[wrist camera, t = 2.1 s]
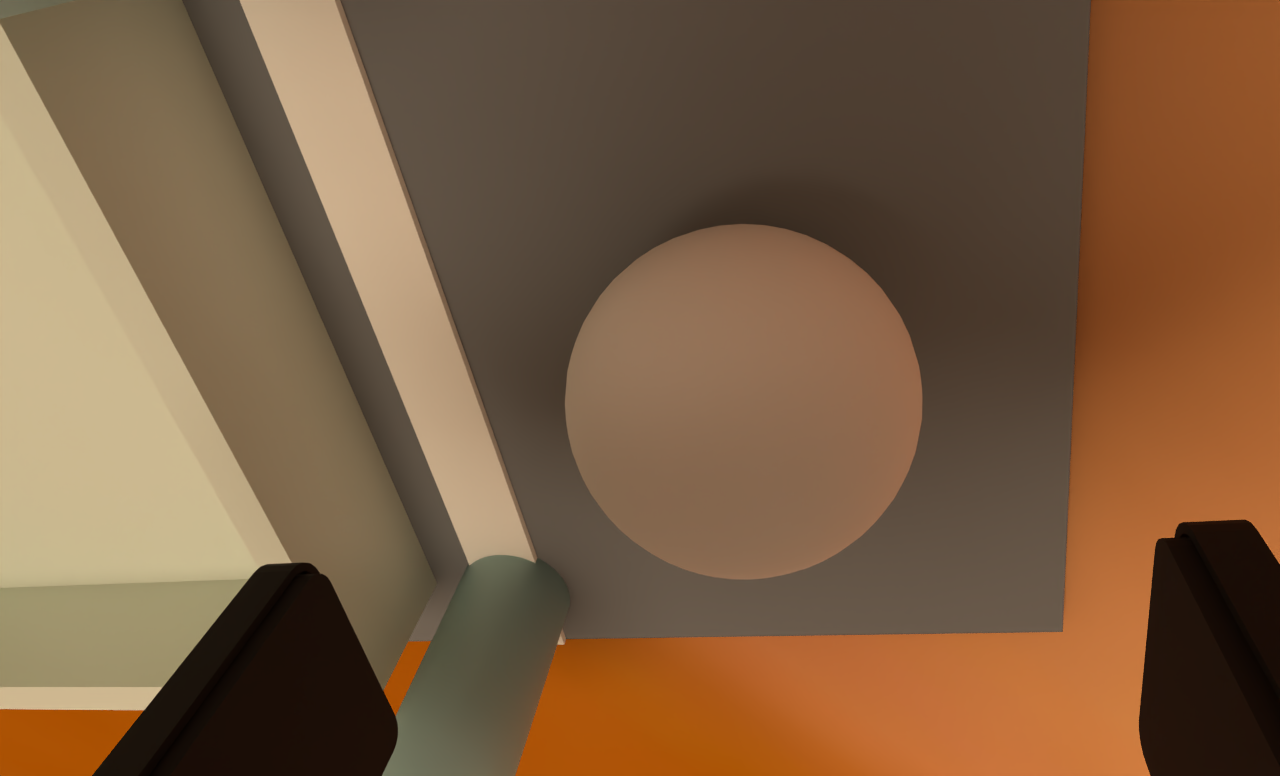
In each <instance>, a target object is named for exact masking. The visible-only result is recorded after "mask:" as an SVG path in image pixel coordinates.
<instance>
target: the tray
mask: <svg viewBox="0 0 1280 776" xmlns="http://www.w3.org/2000/svg"><path fill="white" fill-rule="evenodd" d="M301 562H305V563H311V564H312V565H314V566H315V567H316V568H317V569H318V571H319V572H320V574H324V575H325V576H327V577H328V578H329V580H330V581H331V583H332V585H333V587H334V590H335V592H336V594H337V596H338V598H339V600H340V602H341V604H342V606H343V608H344V610H345V612H346V614H347V617H348V619H349V621H350V623H351V625H352V627H353V629H354V631H355V633H356V635H357V637H358V639H359V642H360V644H361V646H362V648H363V650H364V652H365V654H366V656H367V658H368V660H369V662H370V664H371V667H372V669H373V671H374V673H375V675H376V677H377V679H378V681H379V683H380V685H381V687H382V689H383V690H384V688H385V686H386V684H387V682H388V680H389V678H390V676H391V674H392V672H393V670H394V668H395V666H396V664H397V662H398V660H399V658H400V656H401V654H402V652H403V650H404V648H405V646H406V644H407V642H408V640H409V638H410V636H411V634H412V632H413V630H414V628H415V626H416V624H417V622H418V620H419V618H420V617H421V615H422V613H423V611H424V609H425V607H426V605H427V603H428V601H429V599H430V597H431V595H432V593H433V591H434V589H435V587H436V585H437V582H436V580H435V577H434V575H433V573H432V571H431V568H430V566H429V564H428V561H427V559H426V557H425V555H424V552H423V550H422V548H421V545H420V543H419V541H418V539H417V536H416V534H415V532H414V529H413V527H412V525H411V523H410V520H409V518H408V516H407V513H406V511H405V509H404V507H403V504H402V502H401V500H400V497H399V495H398V493H397V491H396V488H395V486H394V484H393V481H392V479H391V477H390V475H389V472H388V470H387V468H386V465H385V463H384V461H383V459H382V456H381V454H380V452H379V449H378V447H377V445H376V443H375V440H374V438H373V436H372V433H371V431H370V429H369V427H368V424H367V422H366V420H365V417H364V415H363V413H362V411H361V408H360V406H359V404H358V401H357V399H356V397H355V395H354V392H353V390H352V388H351V385H350V383H349V381H348V379H347V376H346V374H345V372H344V369H343V367H342V365H341V363H340V360H339V358H338V356H337V353H336V351H335V349H334V347H333V344H332V342H331V340H330V337H329V335H328V333H327V331H326V328H325V326H324V324H323V321H322V319H321V317H320V315H319V312H318V310H317V308H316V305H315V303H314V301H313V299H312V296H311V294H310V292H309V289H308V287H307V285H306V283H305V280H304V278H303V276H302V273H301V271H300V269H299V267H298V264H297V262H296V260H295V257H294V255H293V253H292V251H291V248H290V246H289V244H288V241H287V239H286V237H285V235H284V232H283V230H282V228H281V225H280V223H279V221H278V219H277V216H276V214H275V212H274V209H273V207H272V205H271V203H270V200H269V198H268V196H267V193H266V191H265V189H264V187H263V184H262V182H261V180H260V177H259V175H258V173H257V171H256V168H255V166H254V164H253V161H252V159H251V157H250V155H249V152H248V150H247V148H246V145H245V143H244V141H243V139H242V136H241V134H240V132H239V129H238V127H237V125H236V123H235V120H234V118H233V116H232V113H231V111H230V109H229V107H228V104H227V102H226V100H225V97H224V95H223V93H222V91H221V88H220V86H219V84H218V81H217V79H216V77H215V75H214V72H213V70H212V68H211V65H210V63H209V61H208V59H207V56H206V54H205V52H204V49H203V47H202V45H201V43H200V40H199V38H198V36H197V33H196V31H195V29H194V27H193V24H192V22H191V20H190V17H189V15H188V13H187V11H186V8H185V6H184V4H183V1H182V0H75V1H71V2H67V3H63V4H59V5H54V6H50V7H46V8H42V9H38V10H34V11H30V12H26V13H22V14H18V15H14V16H10V17H6V18H2V19H0V709H64V710H145V709H146V707H147V706H148V705H149V704H150V702H151V701H152V700H153V699H154V697H155V696H156V695H157V694H158V692H159V691H160V690H161V689H162V687H163V686H164V685H165V684H166V682H167V681H168V680H169V679H170V677H171V676H172V675H173V674H174V672H175V671H176V670H177V668H178V667H179V666H180V665H181V663H182V662H183V661H184V660H185V658H186V657H187V656H188V655H189V653H190V652H191V651H192V650H193V648H194V647H195V646H196V645H197V643H198V642H199V641H200V640H201V638H202V637H203V636H204V635H205V633H206V632H207V631H208V630H209V628H210V627H211V626H212V625H213V623H214V622H215V621H216V620H217V618H218V617H219V616H220V614H221V613H222V612H223V611H224V609H225V608H226V607H227V606H228V604H229V603H230V602H231V601H232V599H233V598H234V597H235V596H236V594H237V593H238V592H239V591H240V589H241V588H242V587H243V586H244V584H245V583H246V582H247V581H248V579H249V578H250V577H251V576H252V574H253V573H254V572H255V571H256V570H257V569H258V568H259V567H261V566H263V565H266V564H279V563H301Z"/></svg>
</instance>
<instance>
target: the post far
mask: <svg viewBox="0 0 1280 776" xmlns="http://www.w3.org/2000/svg"><path fill="white" fill-rule="evenodd" d="M569 606H570V594H569V590H568V587H567V585H566V583H565V581H564V580H563V578H562V577H561V576H560V574H559V573H558V572H557V571H556V570H555V569H554V568H552V567H551V566H550V565H549V564H547V563H546V562H544V561H542V560H541V559H539V558H537V560H536V563H534V562H532V561H529V560H527V559H524V558H520V557H516V556H510V555H493V556H488V557H484V558H481V559H479V560H477V561H475V562H473V563H472V564H471V565H470V566H469V564H468V566H467V567H466V569H465V571H464V574H463V576H462V578H461V580H460V582H459V584H458V586H457V588H456V590H455V593H454V595H453V597H452V599H451V601H450V603H449V605H448V607H447V609H446V611H445V614H444V616H443V618H442V620H441V622H440V624H439V626H438V628H437V630H436V633H435V635H434V637H433V639H432V641H431V643H430V645H429V647H428V649H427V651H426V654H425V656H424V658H423V660H422V662H421V664H420V666H419V668H418V670H417V672H416V675H415V677H414V679H413V681H412V683H411V685H410V687H409V689H408V691H407V694H406V696H405V698H404V700H403V702H402V704H401V706H400V708H399V710H398V712H397V715H396V720H397V723H398V738H397V743H396V746H395V749H394V752H393V754H392V756H391V758H390V760H389V762H388V764H387V766H386V768H385V770H384V772H383V775H382V776H515V774H516V771H517V768H518V765H519V762H520V759H521V756H522V752H523V749H524V746H525V743H526V740H527V737H528V734H529V731H530V728H531V724H532V721H533V718H534V715H535V712H536V709H537V706H538V703H539V699H540V696H541V693H542V690H543V687H544V684H545V681H546V678H547V675H548V671H549V668H550V665H551V662H552V659H553V656H554V653H555V650H556V647H557V643H558V640H559V637H560V634H561V631H562V628H563V625H564V622H565V619H566V615H567V612H568V609H569Z"/></svg>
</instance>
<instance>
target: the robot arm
mask: <svg viewBox="0 0 1280 776" xmlns="http://www.w3.org/2000/svg"><path fill="white" fill-rule="evenodd" d="M1139 733H1140V740H1141V746H1142V750H1143V755H1144V758H1145V761H1146V764H1147V767H1148V770H1149V772H1150V775H1151V776H1280V564H1279V563H1278V561H1277V560H1276V558H1275V557H1274V555H1273V554H1272V552H1271V551H1270V549H1269V547H1268V546H1267V544H1266V543H1265V541H1264V540H1263V538H1262V537H1261V535H1260V534H1259V532H1258V531H1257V529H1256V528H1255V527H1254V526H1253V524H1252V523H1251V522H1249V521H1247V520H1227V521H1205V522H1183V523H1180V524H1179V525H1178V527H1177V529H1176V533H1175V538H1161V539H1158V541H1157V543H1156V547H1155V556H1154V566H1153V577H1152V588H1151V598H1150V609H1149V620H1148V630H1147V641H1146V652H1145V662H1144V673H1143V684H1142V694H1141V705H1140V716H1139ZM397 738H398V723H397V720H396V716H395V714H394V712H393V710H392V708H391V706H390V704H389V702H388V700H387V698H386V696H385V694H384V691H383V689H382V687H381V685H380V683H379V681H378V679H377V677H376V675H375V673H374V671H373V669H372V667H371V664H370V662H369V660H368V658H367V656H366V654H365V652H364V650H363V648H362V646H361V644H360V642H359V639H358V637H357V635H356V633H355V631H354V629H353V627H352V625H351V623H350V621H349V619H348V617H347V614H346V612H345V610H344V608H343V606H342V604H341V602H340V600H339V598H338V596H337V594H336V592H335V590H334V587H333V585H332V583H331V581H330V580H329V578H328V577H327V576H325V575H324V574H320V572H319V571H318V569H317V568H316V567H315V566H314V565H312V564H311V563H305V562H301V563H279V564H266V565H263V566H261V567H259V568H258V569H257V570H256V571H255V572H254V573H253V574H252V576H251V577H250V578H249V579H248V581H247V582H246V583H245V584H244V586H243V587H242V588H241V589H240V591H239V592H238V593H237V594H236V596H235V597H234V598H233V599H232V601H231V602H230V603H229V604H228V606H227V607H226V608H225V609H224V611H223V612H222V613H221V614H220V616H219V617H218V618H217V620H216V621H215V622H214V623H213V625H212V626H211V627H210V628H209V630H208V631H207V632H206V633H205V635H204V636H203V637H202V638H201V640H200V641H199V642H198V643H197V645H196V646H195V647H194V648H193V650H192V651H191V652H190V653H189V655H188V656H187V657H186V658H185V660H184V661H183V662H182V663H181V665H180V666H179V667H178V668H177V670H176V671H175V672H174V674H173V675H172V676H171V677H170V679H169V680H168V681H167V682H166V684H165V685H164V686H163V687H162V689H161V690H160V691H159V692H158V694H157V695H156V696H155V697H154V699H153V700H152V701H151V702H150V704H149V705H148V706H147V707H146V709H145V710H144V711H143V712H142V714H141V715H140V716H139V717H138V719H137V720H136V721H135V722H134V724H133V725H132V726H131V728H130V729H129V730H128V731H127V733H126V734H125V735H124V736H123V738H122V739H121V740H120V741H119V743H118V744H117V745H116V746H115V748H114V749H113V750H112V751H111V753H110V754H109V755H108V756H107V758H106V759H105V760H104V761H103V763H102V764H101V765H100V766H99V768H98V769H97V770H96V771H95V773H94V774H93V775H92V776H382V775H383V772H384V770H385V768H386V766H387V764H388V762H389V760H390V758H391V756H392V754H393V752H394V749H395V746H396V743H397Z"/></svg>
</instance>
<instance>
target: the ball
mask: <svg viewBox="0 0 1280 776" xmlns="http://www.w3.org/2000/svg"><path fill="white" fill-rule="evenodd" d="M565 413H566V424H567V431H568V436H569V441H570V445H571V449H572V453H573V456H574V458H575V461H576V463H577V466H578V469H579V471H580V473H581V476H582V478H583V480H584V482H585V484H586V486H587V488H588V490H589V491H590V493H591V495H592V496H593V498H594V499H595V501H596V502H597V503H598V505H599V506H600V507H601V509H602V510H603V511H604V513H605V514H606V515H607V517H608V518H609V519H610V520H611V521H612V522H613V523H614V524H615V525H616V526H617V527H618V529H619V530H620V531H622V532H623V533H624V534H625V535H626V536H627V537H629V538H630V539H631V540H632V541H633V542H635V543H636V544H638V545H639V546H641V547H642V548H644V549H645V550H647V551H648V552H650V553H651V554H653V555H655V556H656V557H658V558H660V559H662V560H664V561H666V562H668V563H670V564H672V565H675V566H677V567H679V568H682V569H685V570H688V571H691V572H694V573H698V574H702V575H706V576H711V577H716V578H725V579H745V580H750V579H763V578H770V577H775V576H781V575H785V574H789V573H793V572H796V571H799V570H803V569H806V568H809V567H811V566H813V565H816V564H818V563H821V562H823V561H825V560H826V559H828V558H830V557H832V556H833V555H835V554H837V553H839V552H840V551H842V550H843V549H844V548H846V547H847V546H849V545H850V544H851V543H853V542H854V541H855V540H857V539H858V538H860V537H861V536H862V535H863V534H864V533H865V532H866V531H867V530H868V529H869V528H870V527H871V526H872V525H873V524H874V523H875V522H876V521H877V520H878V519H879V517H880V516H881V515H882V514H883V512H884V511H885V510H886V509H887V507H888V506H889V505H890V503H891V502H892V501H893V499H894V498H895V496H896V494H897V492H898V491H899V489H900V487H901V485H902V483H903V482H904V479H905V477H906V475H907V473H908V471H909V469H910V466H911V463H912V460H913V458H914V455H915V452H916V447H917V443H918V438H919V432H920V427H921V422H922V384H921V376H920V369H919V364H918V361H917V358H916V354H915V351H914V348H913V345H912V341H911V338H910V335H909V333H908V331H907V329H906V327H905V325H904V323H903V320H902V318H901V316H900V315H899V313H898V312H897V310H896V309H895V307H894V306H893V304H892V303H891V301H890V300H889V299H888V297H887V296H886V294H885V293H884V291H883V290H882V289H881V287H880V286H879V285H878V284H877V283H876V282H875V281H874V280H873V279H872V278H871V277H870V276H869V275H868V273H866V272H865V271H864V270H863V269H862V268H860V267H859V266H858V265H857V264H855V263H854V262H853V261H852V260H851V259H849V258H848V257H846V256H845V255H843V254H841V253H840V252H838V251H836V250H835V249H833V248H832V247H830V246H828V245H827V244H825V243H822V242H820V241H818V240H816V239H814V238H811V237H809V236H807V235H804V234H801V233H797V232H794V231H791V230H788V229H784V228H778V227H772V226H767V225H754V224H733V225H720V226H715V227H710V228H705V229H700V230H696V231H693V232H690V233H687V234H684V235H681V236H679V237H676V238H673V239H671V240H669V241H667V242H665V243H663V244H661V245H659V246H657V247H654V248H653V249H651V250H650V251H648V252H647V253H645V254H644V255H642V256H641V257H639V258H638V259H636V260H635V261H634V262H633V263H632V264H631V265H629V266H628V267H627V268H626V269H625V270H624V271H623V272H621V273H620V274H619V275H618V276H617V277H616V278H615V279H614V280H613V281H612V282H611V283H610V284H609V286H608V287H607V288H606V289H605V290H604V291H603V293H602V294H601V295H600V296H599V298H598V300H597V301H596V303H595V304H594V306H593V307H592V309H591V311H590V312H589V314H588V316H587V317H586V319H585V321H584V322H583V325H582V327H581V329H580V332H579V334H578V337H577V339H576V342H575V345H574V348H573V351H572V354H571V358H570V362H569V366H568V371H567V382H566V394H565Z"/></svg>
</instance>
